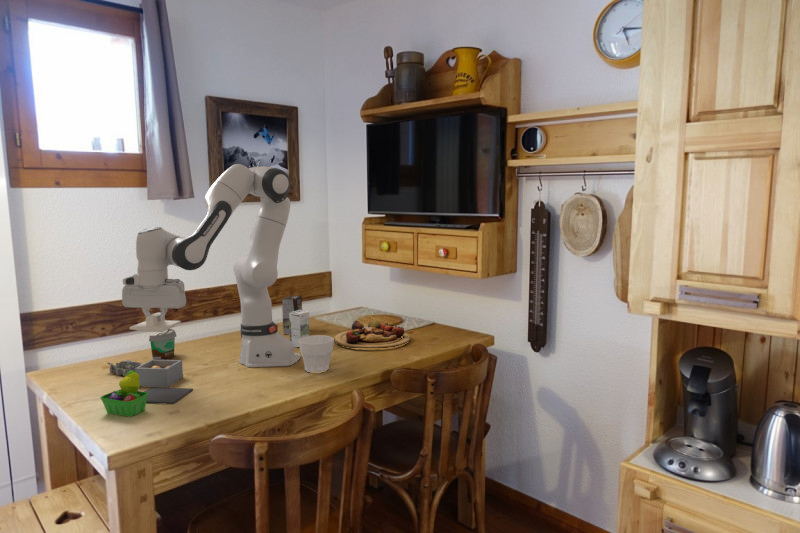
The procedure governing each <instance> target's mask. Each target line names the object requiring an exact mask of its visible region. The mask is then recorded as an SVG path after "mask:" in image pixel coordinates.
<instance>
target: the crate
mask: <svg viewBox="0 0 800 533" xmlns="http://www.w3.org/2000/svg"><path fill="white" fill-rule="evenodd" d="M135 371H137V374H138V375H139V382H140V387H142V388H143V387H144V388H145V387H148V388H151V387H162V388H170V387H171V386H172V385H174V384H175V383H177V382H178V381H179V380H181V379H183V378H184V373H183V372H184V371H183V359H182V360H181V359H180V360H179V359H168V360H153V359H149V360H148V361H146V362H144V363H141V365H140V366H138V367H136V368H135Z"/></svg>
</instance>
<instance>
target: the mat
mask: <svg viewBox="0 0 800 533" xmlns="http://www.w3.org/2000/svg"><path fill="white" fill-rule="evenodd" d="M193 390H194V388H191V387H190V388H187V387H148V388H147V389H146V390H145V391H143V392H147V393H149V394H148V397H147V401H146V404H158V403H166V404H167V405H175V404H176V403H177V402H178V400H179V401H181V399H182V398H184V397H185V396H187V395H188V394H190V393H191V392H192V391H193ZM174 403H175V404H174ZM166 404H165V405H166Z"/></svg>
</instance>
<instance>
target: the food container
mask: <svg viewBox="0 0 800 533" xmlns="http://www.w3.org/2000/svg"><path fill="white" fill-rule="evenodd" d="M176 337H177V333H176V330H175V329H174V328H170V329H168V330H166V331H163V332H158V334H156V335H149V339H148V342H150V343H149V344H150V348H151V349H150V350H151V357H152V360H172V359H173V358H174V357H175V346H176V345H175V342H176V341H175V340H176Z"/></svg>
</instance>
